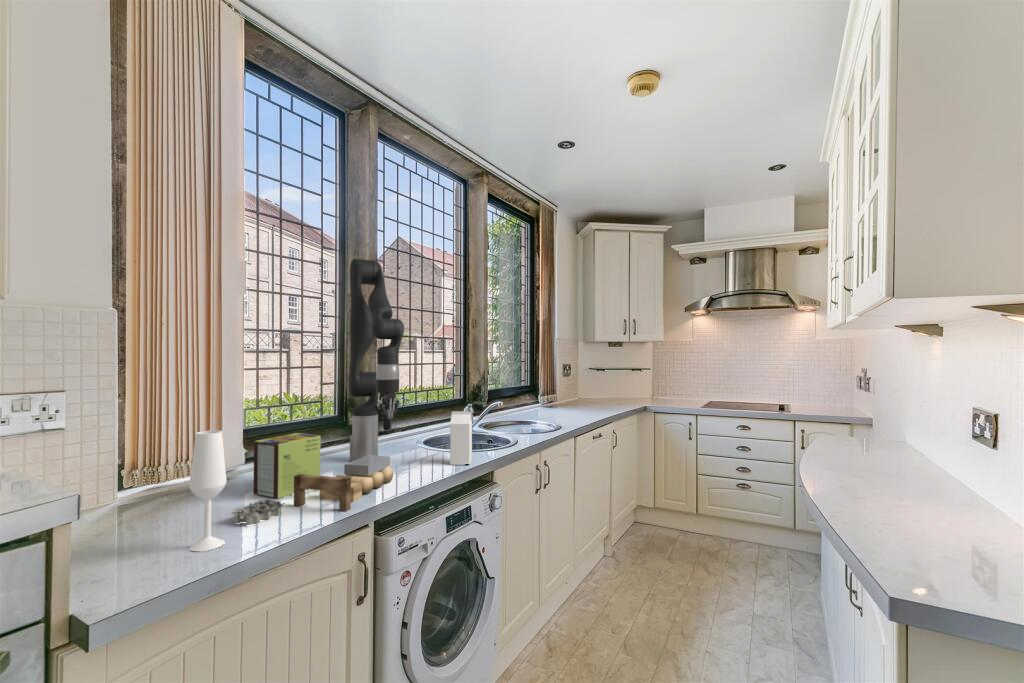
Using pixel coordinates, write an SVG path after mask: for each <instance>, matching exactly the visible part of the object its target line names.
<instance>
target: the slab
mask: <svg viewBox="0 0 1024 683" xmlns="http://www.w3.org/2000/svg"><path fill="white" fill-rule="evenodd" d="M343 465H344V466H343V468H344V469H343V471H344V472H343V474H344V475H359V476H370V475H372V474H374V473H376V472H378V471H380V470H382V469H384V468H390V466H391V456H388V455H387V456H386V455H378V456H375V455H367V456H364V457H362V458H359V459H356V460H354V461H351V462H350V461H349V462H346V463H344V464H343Z"/></svg>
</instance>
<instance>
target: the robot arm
mask: <svg viewBox="0 0 1024 683" xmlns="http://www.w3.org/2000/svg"><path fill="white" fill-rule="evenodd" d="M362 285H366V286H367V285H369V286H374V288H373V290H372V291H371V293H370V295H369V297H368V300H367V302H366V300H365V297H364V295H363V291H362ZM349 286H350V287H349V289H350V318H349V320H350V322H349V323H350V325H349V335H350V336H349V343H350V348H349V350H350V355H349V356H350V357H349V358H350V359H349V370H348V394H349V395H350V397H352V398H358V397H361V398H362V397H368V399H367V400H366V401H364V402H363V403H361V404H359V405H356V406H354V407H353V408H352V412H351V413H352V420H351V421H352V424H351V425H352V427H351V428H352V429H351V430H352V434H351V435H350V436H349V462H350V461H354V460H356V459H359V458H362V457H364V456H367V455H375V456H379V453H378V451H379V418H381V419H383V421H382V423H383V425H382V426H383V427H382V429H383V431H391V430H392V419H393V418H394V417H395V416H396V414H397V411H398V407H399V405H400V400H398V399H396V398H397V395H396V393H399V391H400V366H399V364H400V363H399V362H400V361H399V354H400V348H401V344H402V340H403V336H404V333H405V325H404V323H403V321H402V320H401V319H399V318H393V315H394V313H393V309H392V307H391V304H390V300H389V299H388V296H387V290H386V282H385V276H384V271H383V268H382V265H381V263H380V262H379V261H377V260H373V259H364V258H363V259H362V258H353V259H352V260H351V261H350V265H349ZM376 339H377V340H390V343H389V344H387V345H386V346H385V345H384V346H380V347H378V348H377V350H376V351H377V352H376V368H375V370H376V371H360V370H359V369H360V366H361V362H362V360H363V358H364V357H365V356H366V353H367V352H368V350H369V349H370V348H371V346H372V345H373V343H374V342H375V340H376Z"/></svg>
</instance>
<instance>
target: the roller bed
mask: <svg viewBox="0 0 1024 683" xmlns="http://www.w3.org/2000/svg"><path fill="white" fill-rule="evenodd" d="M335 477H341V478H351V483H362V494H370V493H371V492H372V491H373V488H377V489H379V488H381V487H382V486H383V484H384V483H387V484H388V483H391V482H392V481H393V477H394V470H393V468H392V467H387V468H384V469H382V470H380V471H378V472H376V473H374V474H372V475H370V476H359V475H346V474H344V475H342V474H337V475H336V476H335Z"/></svg>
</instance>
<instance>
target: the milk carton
mask: <svg viewBox="0 0 1024 683" xmlns="http://www.w3.org/2000/svg"><path fill="white" fill-rule="evenodd" d="M450 417H451V418H450V424H449V426H450V427H449V428H450V429H449V431H450V432H449V436H450V437H449V439H450V440H449V441H450V442H449V449H450V450H449V466H458V465H459V466H466V465H465V464H470V465H471V463H472V461H471V460H472V458H473V456H472V453H473V452H472V450H473V449H472V448H473V444H472V443H473V441H472V440H473V438H472V437H473V429H472V428H473V419H472V412H471V411H464V410H463V411H462V410H461V411H460V410H459V411H458V410H457V411H451V416H450Z"/></svg>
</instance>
